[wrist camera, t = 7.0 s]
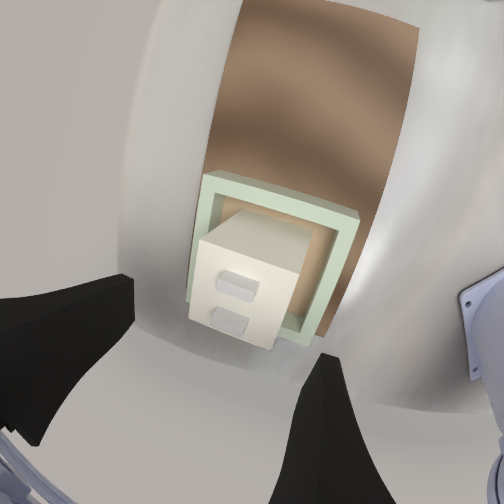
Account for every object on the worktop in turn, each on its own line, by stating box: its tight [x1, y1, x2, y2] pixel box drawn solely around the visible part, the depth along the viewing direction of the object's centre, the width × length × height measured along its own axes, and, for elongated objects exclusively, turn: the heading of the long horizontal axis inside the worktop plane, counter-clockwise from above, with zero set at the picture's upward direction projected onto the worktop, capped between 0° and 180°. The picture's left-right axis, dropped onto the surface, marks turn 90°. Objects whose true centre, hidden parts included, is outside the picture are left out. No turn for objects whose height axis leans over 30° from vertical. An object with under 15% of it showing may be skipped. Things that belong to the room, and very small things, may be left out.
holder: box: [186, 170, 360, 347], centre depth 16 cm, size 8×8×2 cm
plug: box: [188, 208, 314, 351], centre depth 13 cm, size 4×4×6 cm
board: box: [186, 0, 419, 337], centre depth 15 cm, size 20×10×1 cm, turn 167°
